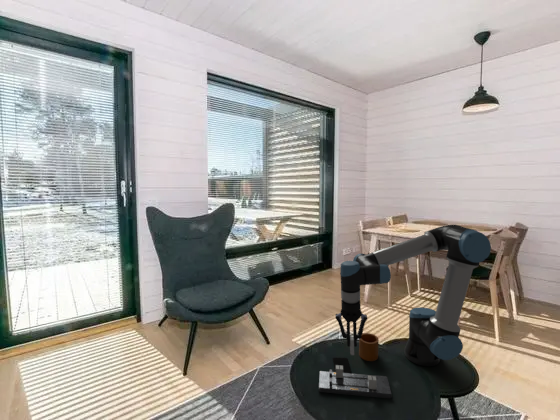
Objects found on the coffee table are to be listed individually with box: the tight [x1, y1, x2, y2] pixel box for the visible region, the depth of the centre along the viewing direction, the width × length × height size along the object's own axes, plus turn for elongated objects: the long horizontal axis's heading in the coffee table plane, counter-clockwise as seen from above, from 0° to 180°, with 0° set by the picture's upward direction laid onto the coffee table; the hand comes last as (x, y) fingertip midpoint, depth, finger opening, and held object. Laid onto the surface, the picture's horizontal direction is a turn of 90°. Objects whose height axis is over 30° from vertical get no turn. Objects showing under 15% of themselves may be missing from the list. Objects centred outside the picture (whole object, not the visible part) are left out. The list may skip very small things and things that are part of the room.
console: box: [318, 369, 393, 399], centre depth 126 cm, size 28×10×4 cm, turn 80°
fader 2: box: [368, 375, 377, 389], centre depth 122 cm, size 3×2×4 cm
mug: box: [358, 332, 380, 362], centre depth 147 cm, size 9×12×9 cm
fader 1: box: [336, 365, 343, 378], centre depth 129 cm, size 3×2×4 cm
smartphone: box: [332, 357, 353, 374], centre depth 137 cm, size 7×1×15 cm
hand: (352, 353), depth 127 cm, fingers closed
